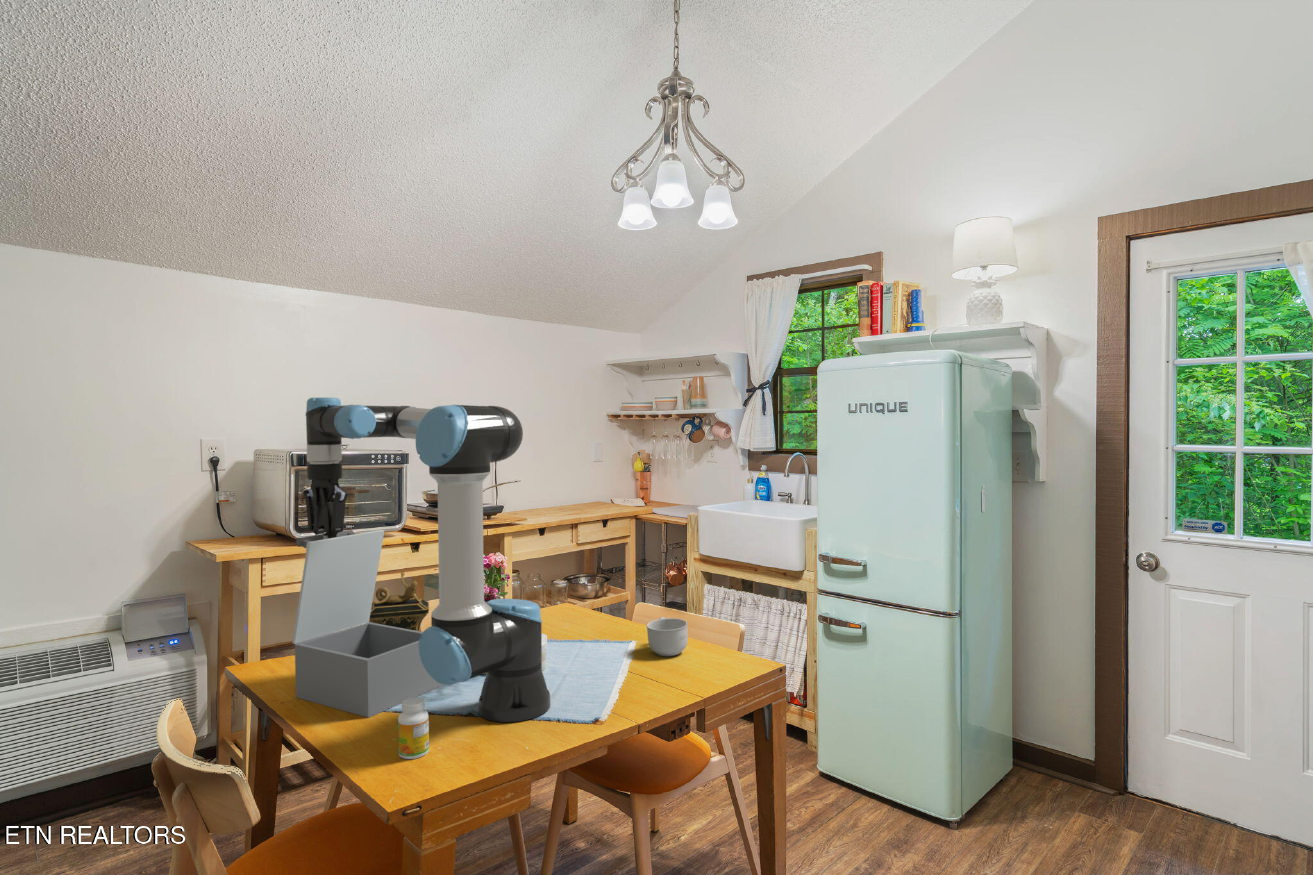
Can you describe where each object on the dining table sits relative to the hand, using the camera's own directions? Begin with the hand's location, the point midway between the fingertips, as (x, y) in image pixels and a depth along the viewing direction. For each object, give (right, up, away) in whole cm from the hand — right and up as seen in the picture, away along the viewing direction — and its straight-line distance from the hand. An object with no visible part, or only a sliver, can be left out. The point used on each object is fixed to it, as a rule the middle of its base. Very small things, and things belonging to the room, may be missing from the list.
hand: (326, 561), depth 170 cm
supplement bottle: (+33, -29, -37) cm, 58 cm away
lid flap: (+5, -5, -2) cm, 7 cm away
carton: (+13, -29, -6) cm, 32 cm away
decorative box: (+5, -28, +29) cm, 41 cm away
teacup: (+81, -28, +21) cm, 89 cm away
